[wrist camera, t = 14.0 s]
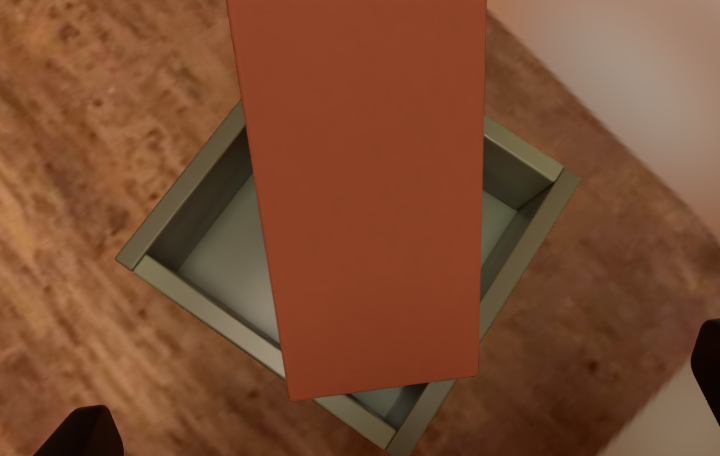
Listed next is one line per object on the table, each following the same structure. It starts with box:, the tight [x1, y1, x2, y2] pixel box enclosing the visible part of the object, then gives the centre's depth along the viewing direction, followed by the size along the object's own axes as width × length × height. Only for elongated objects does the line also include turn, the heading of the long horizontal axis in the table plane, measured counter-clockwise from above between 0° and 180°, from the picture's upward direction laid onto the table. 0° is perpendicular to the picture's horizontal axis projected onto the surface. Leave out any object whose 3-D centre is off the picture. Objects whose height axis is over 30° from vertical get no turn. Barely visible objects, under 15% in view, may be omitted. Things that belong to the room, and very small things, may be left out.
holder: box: [115, 99, 582, 456], centre depth 19 cm, size 9×9×4 cm
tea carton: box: [226, 0, 487, 401], centre depth 14 cm, size 4×6×12 cm
